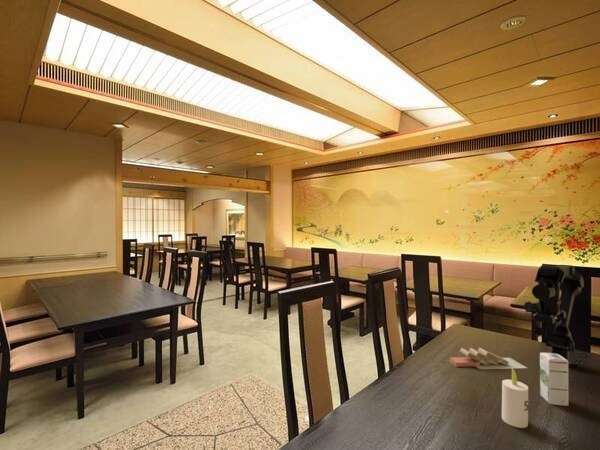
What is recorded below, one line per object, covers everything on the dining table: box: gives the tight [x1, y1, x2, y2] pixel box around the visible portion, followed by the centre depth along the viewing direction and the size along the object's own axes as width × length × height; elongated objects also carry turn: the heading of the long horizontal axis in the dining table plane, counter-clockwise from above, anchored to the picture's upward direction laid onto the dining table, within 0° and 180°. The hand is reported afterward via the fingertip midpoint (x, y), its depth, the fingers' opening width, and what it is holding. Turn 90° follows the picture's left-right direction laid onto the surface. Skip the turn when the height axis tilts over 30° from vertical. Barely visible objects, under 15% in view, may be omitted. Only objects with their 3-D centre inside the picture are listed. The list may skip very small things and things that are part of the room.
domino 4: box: [477, 347, 508, 365], centre depth 131 cm, size 2×5×10 cm
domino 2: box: [459, 347, 490, 366], centre depth 131 cm, size 2×5×10 cm
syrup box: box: [539, 352, 569, 407], centre depth 104 cm, size 6×6×14 cm
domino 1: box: [449, 356, 480, 368], centre depth 130 cm, size 2×5×10 cm
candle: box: [501, 368, 530, 429], centre depth 93 cm, size 6×6×15 cm
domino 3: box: [468, 347, 499, 366], centre depth 131 cm, size 2×5×10 cm
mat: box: [475, 357, 528, 370], centre depth 131 cm, size 20×10×1 cm, turn 94°
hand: (549, 337), depth 126 cm, fingers closed
